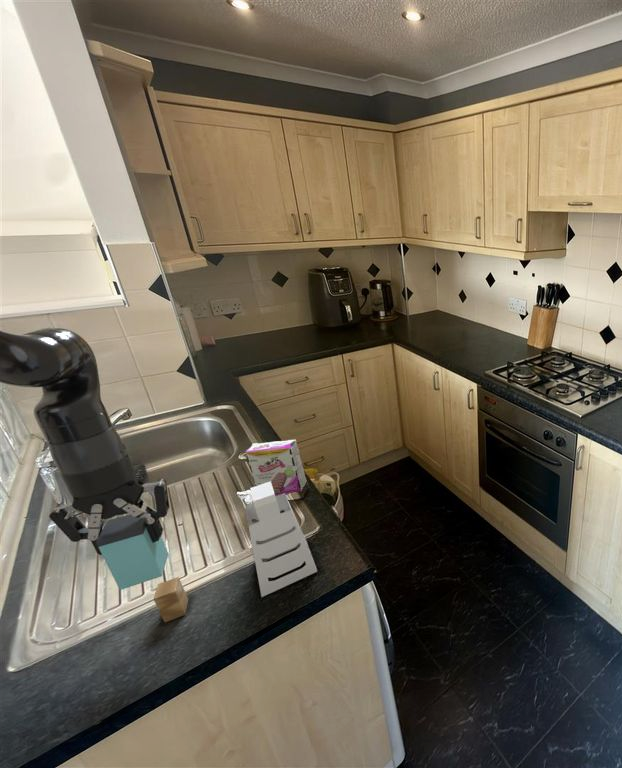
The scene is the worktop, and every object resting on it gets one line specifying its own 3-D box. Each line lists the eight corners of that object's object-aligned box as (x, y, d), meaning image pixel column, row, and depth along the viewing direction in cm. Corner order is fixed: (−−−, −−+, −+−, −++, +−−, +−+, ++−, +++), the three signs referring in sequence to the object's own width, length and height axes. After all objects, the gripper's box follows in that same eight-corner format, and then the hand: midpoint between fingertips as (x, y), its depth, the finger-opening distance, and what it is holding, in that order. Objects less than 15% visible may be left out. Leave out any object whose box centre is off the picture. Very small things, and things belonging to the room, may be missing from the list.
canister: (130, 591, 70) (97, 588, 61) (126, 527, 74) (94, 515, 64) (171, 577, 72) (144, 573, 63) (165, 516, 76) (139, 503, 67)
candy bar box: (260, 505, 109) (243, 452, 103) (267, 494, 113) (251, 442, 107) (304, 499, 110) (290, 447, 104) (309, 489, 115) (296, 438, 109)
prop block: (164, 622, 76) (153, 599, 74) (168, 606, 79) (158, 583, 77) (185, 614, 78) (174, 591, 76) (188, 599, 81) (178, 576, 79)
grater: (307, 543, 94) (287, 470, 87) (317, 571, 86) (296, 493, 79) (255, 565, 89) (229, 488, 82) (261, 597, 81) (232, 515, 74)
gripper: (14, 486, 56) (66, 579, 62) (147, 456, 62) (183, 542, 68) (38, 462, 62) (84, 549, 68) (157, 436, 68) (189, 518, 74)
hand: (133, 545), depth 68 cm, fingers closed on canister, 5 cm apart
